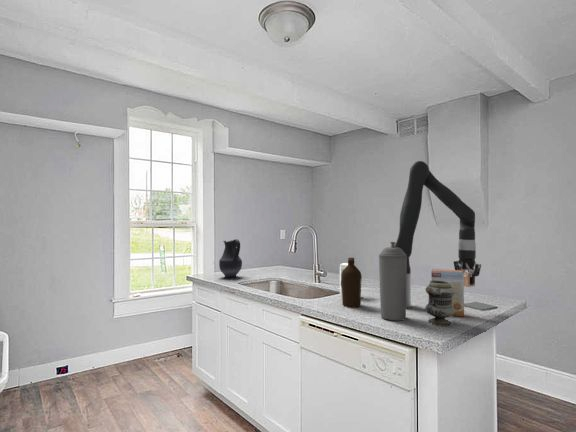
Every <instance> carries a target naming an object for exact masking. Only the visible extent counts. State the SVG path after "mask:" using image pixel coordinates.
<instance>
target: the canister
mask: <svg viewBox="0 0 576 432" xmlns="http://www.w3.org/2000/svg"><path fill="white" fill-rule="evenodd" d="M389 243H390V245H391V246H388V247H385V248H383V249H382V250H381V252H380V253H378V263H379V264H378V268H379V269H378V273H379V297H380V299H379V301H380V316H381V318H382V317H383V318H382V319H384V318H385V319H384V320H387V319H390V320H389V321H393V320H399V321H404V320H406V317H407V313H406V312H407V308H406V282H407V255H406V254H405V252H403V250H402V249H401V248H398V247H395V246H394V243H396V241H390V242H389ZM403 319H404V320H403Z"/></svg>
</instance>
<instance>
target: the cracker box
mask: <svg viewBox="0 0 576 432" xmlns="http://www.w3.org/2000/svg"><path fill="white" fill-rule="evenodd" d="M432 280H443V281H448V282H450V283H451V287H452V288H453V289H454V290H455V294H454V295H453V296H452V306H453V307H454V309H455V314H454V315H453V316H452V317H461V318H462V317H465V306H464V304H465V286H464V272H463V270H455V269H442V268H441V269H439V268H438V269H437V268H433V269H432V270H431V281H432Z"/></svg>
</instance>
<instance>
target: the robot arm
mask: <svg viewBox="0 0 576 432" xmlns="http://www.w3.org/2000/svg"><path fill="white" fill-rule="evenodd" d="M408 175H409V176H408V184H407V188H406V192H405V194H404V195H405V196H404V198H403V201H402V204H401V205H402V206H401V208H400V209H401V210H400V215H399V232H398V235H397V239H396V241H395V243H394V246H395V247H398V248H401V249H402V250H403V252H405V254H406V255H407V282H406V309H407V308H411V307H412V305H411V304H412V302H411V301H412V299H411V298H412V297H411V295H412V286H411V285H412V283H411V281H412V280H411V275H412V274H411V266H410V257H411V256H412V250H413V244H414V235H415V232H416V229H417V225H418V221H419V218H420V213H421V208H422V201H423V188H424V187H425V188H427V189H428V190H429V191H430V192H432V194H434V195H435V197H436V198H437V199H438V200H440V202H441V203H442V204H444V206H445V207H447V208H448V209H449V210H450V211H452V212H453V214H455V216H457V217H458V219H459V231H458V246H457V247H458V253H457V254H458V255H457V257H458V260H456V261H453V267H454V270H463V272H468V273H469V274H470V285H474V284H475V285H476V277H479V276H480V272H481V268H482V264H480V263H476V258H477V256H476V254H477V253H476V251H477V249H476V248H477V247H476V229H475V224H476V213H475V211H474V210H473V209H472V207H470V206H469V205H467V204H466V203H465V202H464V201H463V200H462V199H461V198H460V197H459V196H458V195H457V194H456V193H455V192H454V191H452V190H451V189H450V188H449V187H447V186H446V185H445V184H444V183H442V182H441V181H439V180H438V179H437V178H436V177H435V176H434V174H433V173H432V172H431V170H430V168H429V165H428V164H427V163H426V162H424V161H422V160H417V161H415V162H413V164H412V165H411V166H410V168H409V174H408Z"/></svg>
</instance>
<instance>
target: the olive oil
mask: <svg viewBox="0 0 576 432" xmlns="http://www.w3.org/2000/svg"><path fill="white" fill-rule="evenodd" d="M347 263H348V265H347V267H346V268H345V269H344V270H343V271H342V274H341V283H342V296H341V301H342V306H343V305H344V306H343V307H345V306H349V307H348V308H358V307H357V306H359V307H361V306H360V305H362V304H361V303H362V278H363V277H362V273H361V270H360V269H359V268H358V267H357V266H355V265H356V264H355V257H348V258H347ZM354 264H355V265H354Z"/></svg>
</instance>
